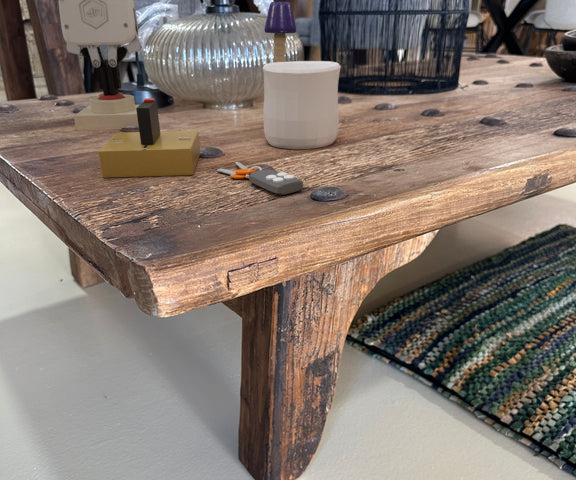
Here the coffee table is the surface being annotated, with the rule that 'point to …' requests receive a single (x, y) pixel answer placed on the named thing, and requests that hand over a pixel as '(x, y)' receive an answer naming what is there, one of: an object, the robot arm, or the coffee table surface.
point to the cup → (301, 104)
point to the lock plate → (150, 155)
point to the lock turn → (148, 121)
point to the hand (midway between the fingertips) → (111, 93)
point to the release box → (107, 114)
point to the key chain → (267, 179)
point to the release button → (111, 96)
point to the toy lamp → (280, 26)
